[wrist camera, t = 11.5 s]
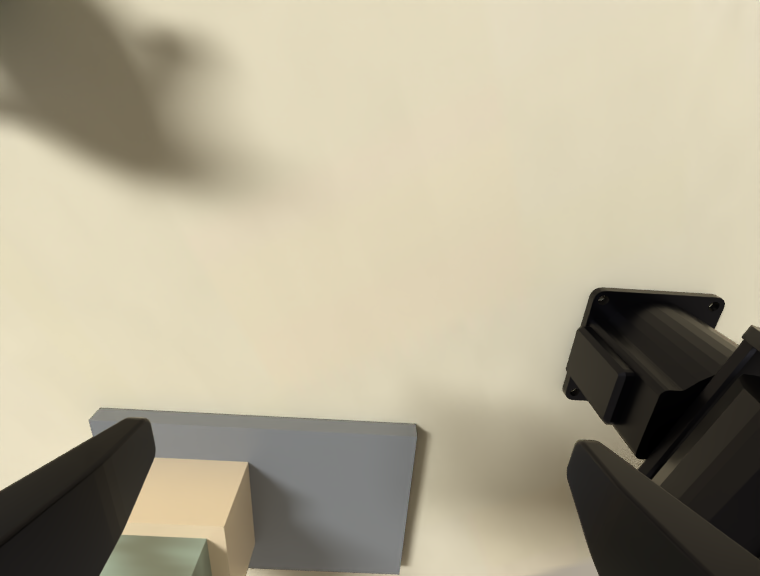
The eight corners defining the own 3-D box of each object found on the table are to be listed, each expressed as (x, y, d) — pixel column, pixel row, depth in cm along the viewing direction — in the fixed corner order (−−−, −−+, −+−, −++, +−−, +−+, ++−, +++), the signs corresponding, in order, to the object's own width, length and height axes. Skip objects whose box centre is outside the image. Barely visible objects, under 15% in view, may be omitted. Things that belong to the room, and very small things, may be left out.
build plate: (415, 424, 24) (424, 499, 19) (398, 559, 28) (402, 645, 24) (100, 408, 23) (31, 481, 19) (136, 548, 28) (88, 634, 23)
